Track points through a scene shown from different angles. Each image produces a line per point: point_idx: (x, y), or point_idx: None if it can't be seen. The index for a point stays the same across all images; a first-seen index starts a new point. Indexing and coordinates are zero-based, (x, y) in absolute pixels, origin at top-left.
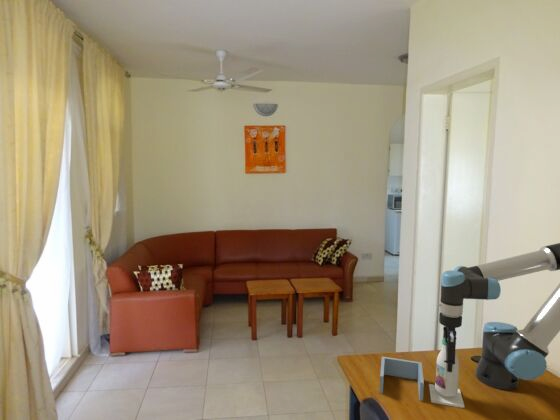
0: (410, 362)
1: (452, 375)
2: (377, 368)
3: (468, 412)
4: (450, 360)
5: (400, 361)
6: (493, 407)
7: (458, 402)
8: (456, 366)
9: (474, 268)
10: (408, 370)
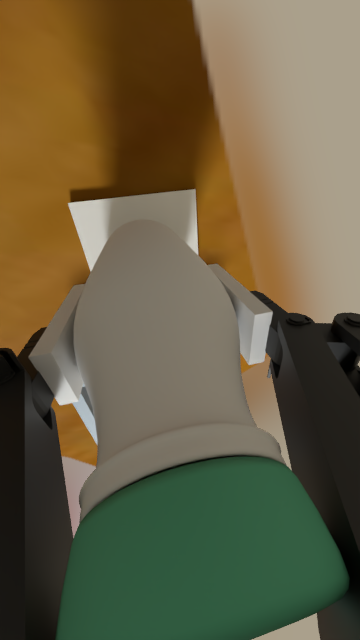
0: (88, 406)
1: (226, 275)
2: None
3: (213, 173)
4: (354, 360)
5: None
6: (127, 12)
7: (178, 212)
8: (211, 272)
9: None
10: None
